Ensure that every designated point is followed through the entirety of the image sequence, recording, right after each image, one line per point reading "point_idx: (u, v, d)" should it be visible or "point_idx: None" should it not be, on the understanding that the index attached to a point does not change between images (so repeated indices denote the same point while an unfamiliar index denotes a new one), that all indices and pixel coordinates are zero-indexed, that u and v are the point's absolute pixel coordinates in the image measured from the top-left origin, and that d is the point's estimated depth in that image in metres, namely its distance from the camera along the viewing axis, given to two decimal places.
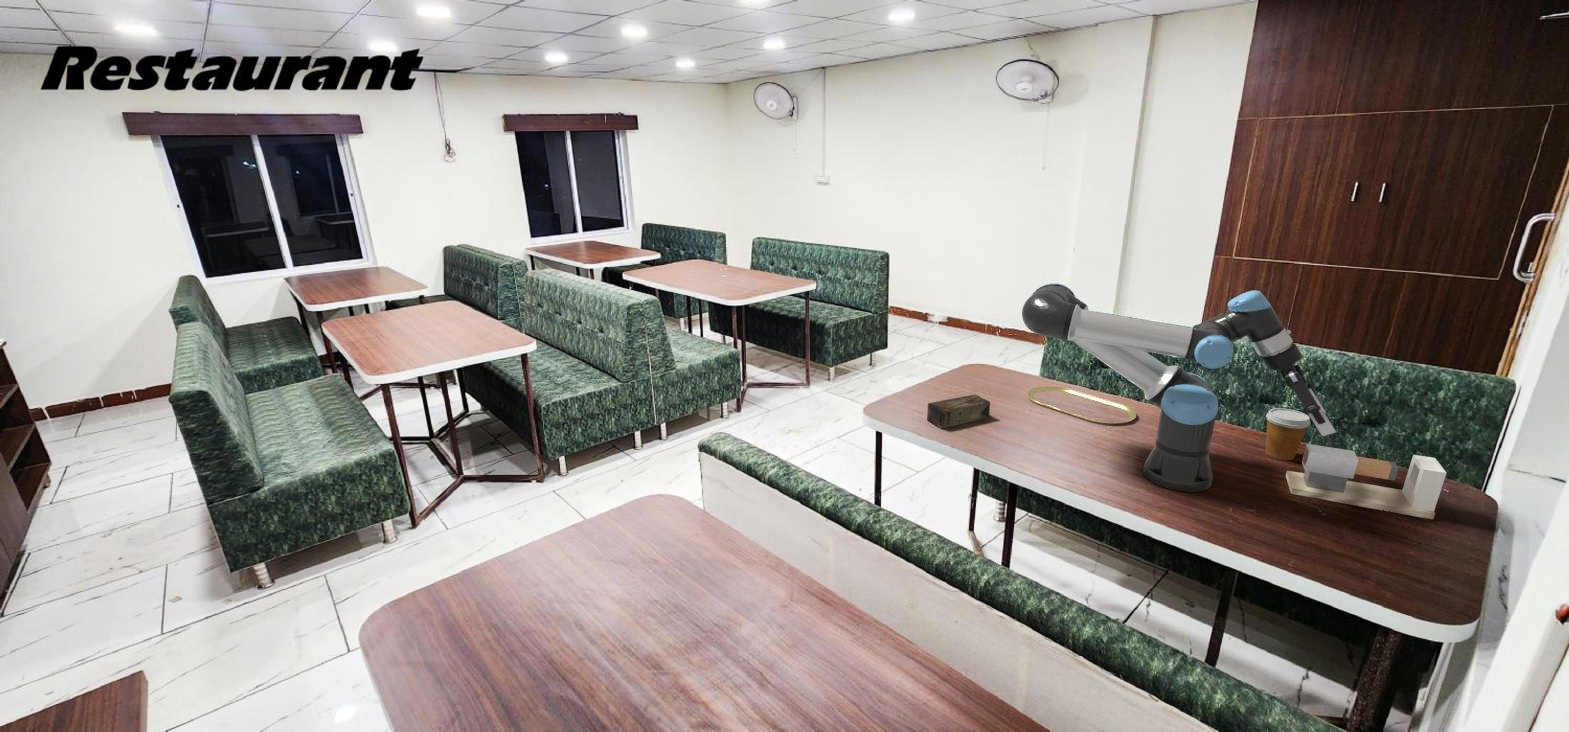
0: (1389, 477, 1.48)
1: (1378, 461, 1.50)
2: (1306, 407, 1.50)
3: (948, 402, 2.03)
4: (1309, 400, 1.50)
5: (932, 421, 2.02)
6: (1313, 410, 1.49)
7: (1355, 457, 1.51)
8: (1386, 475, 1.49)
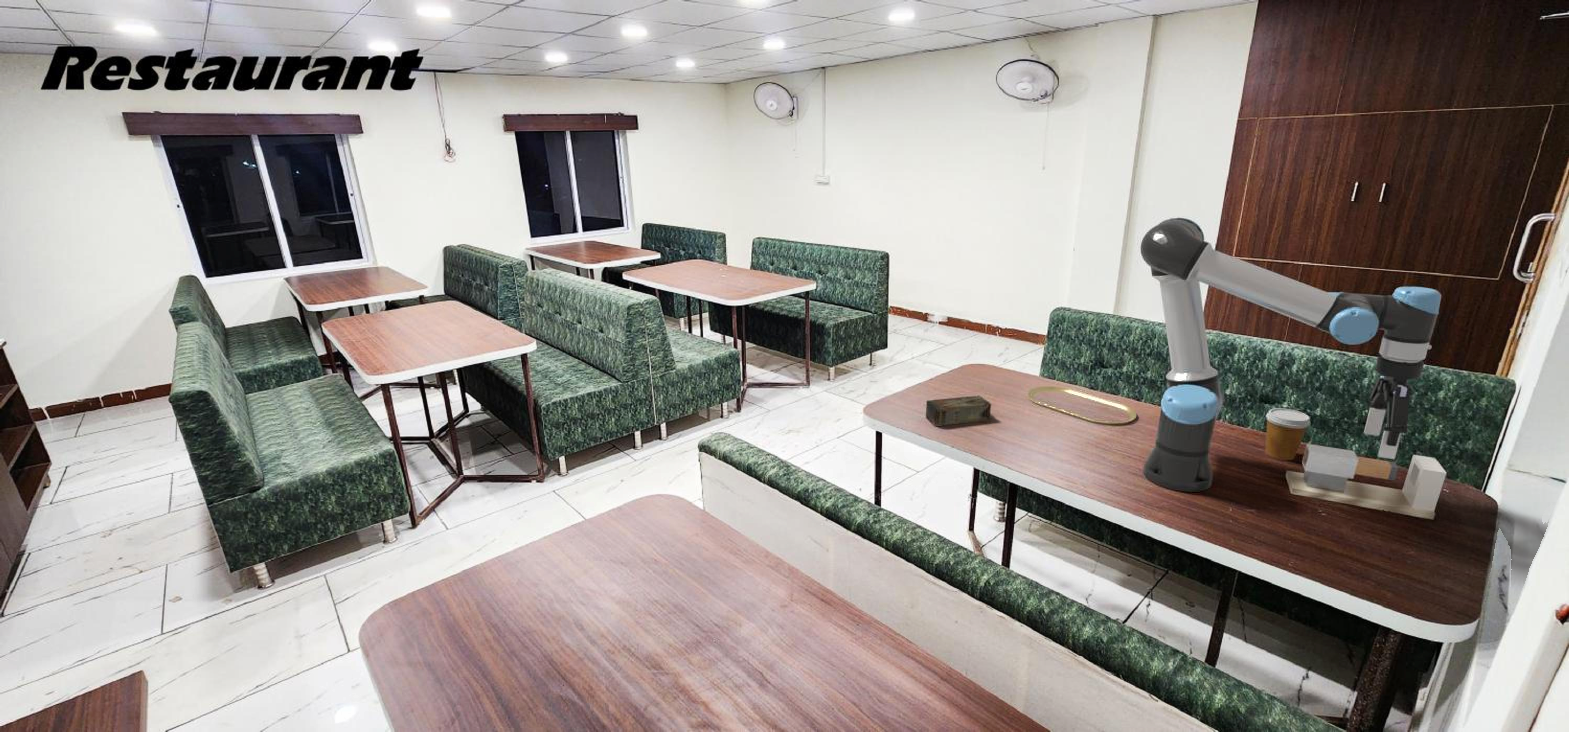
0: (1389, 477, 1.48)
1: (1378, 461, 1.50)
2: (1394, 424, 1.39)
3: (947, 401, 2.04)
4: (1402, 420, 1.38)
5: (929, 418, 2.04)
6: (1398, 430, 1.38)
7: (1355, 457, 1.51)
8: (1386, 475, 1.49)
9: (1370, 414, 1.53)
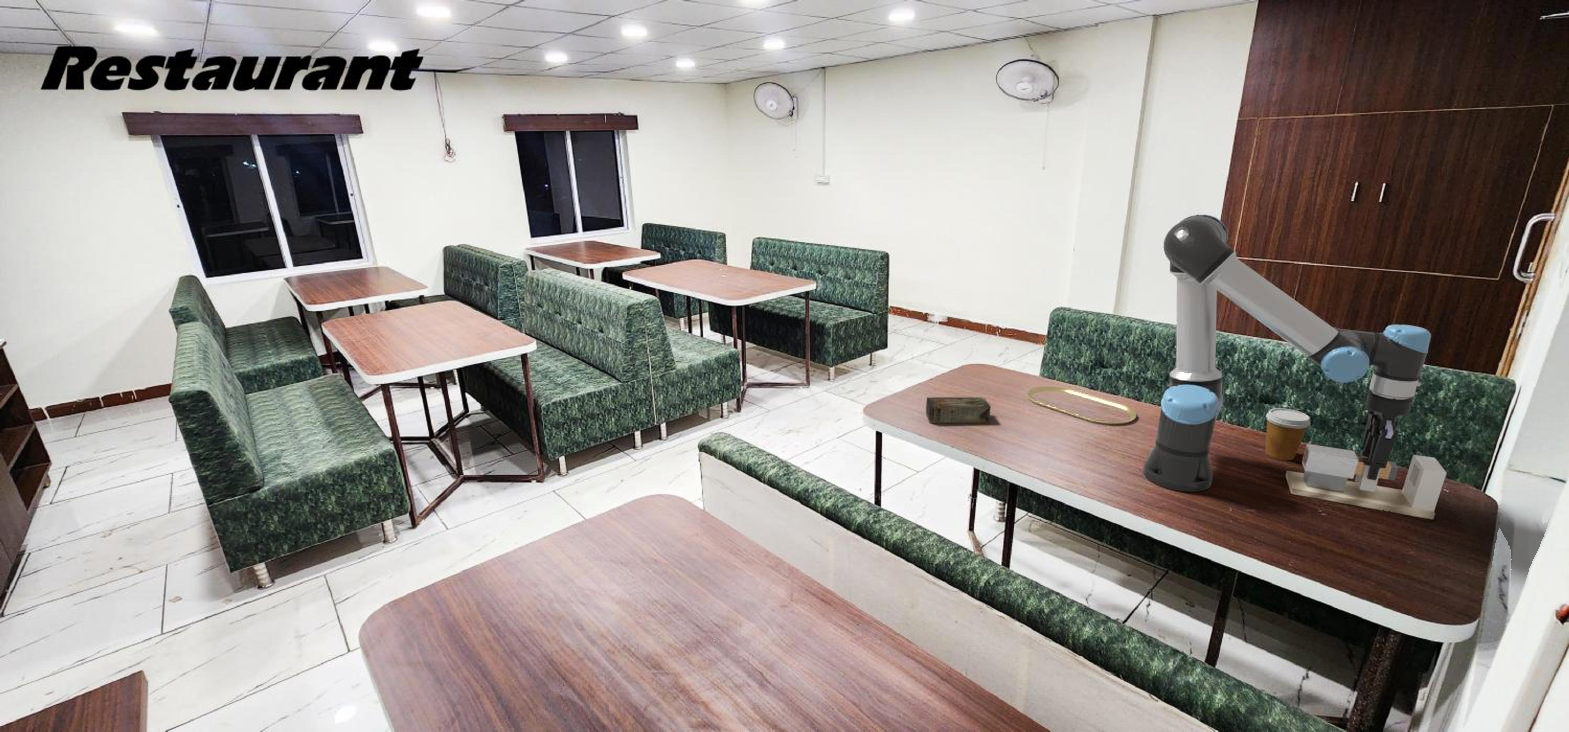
0: (1389, 477, 1.48)
1: None
2: (1374, 462, 1.46)
3: (947, 399, 2.05)
4: (1383, 458, 1.45)
5: None
6: (1378, 467, 1.46)
7: (1355, 457, 1.51)
8: (1386, 475, 1.49)
9: None
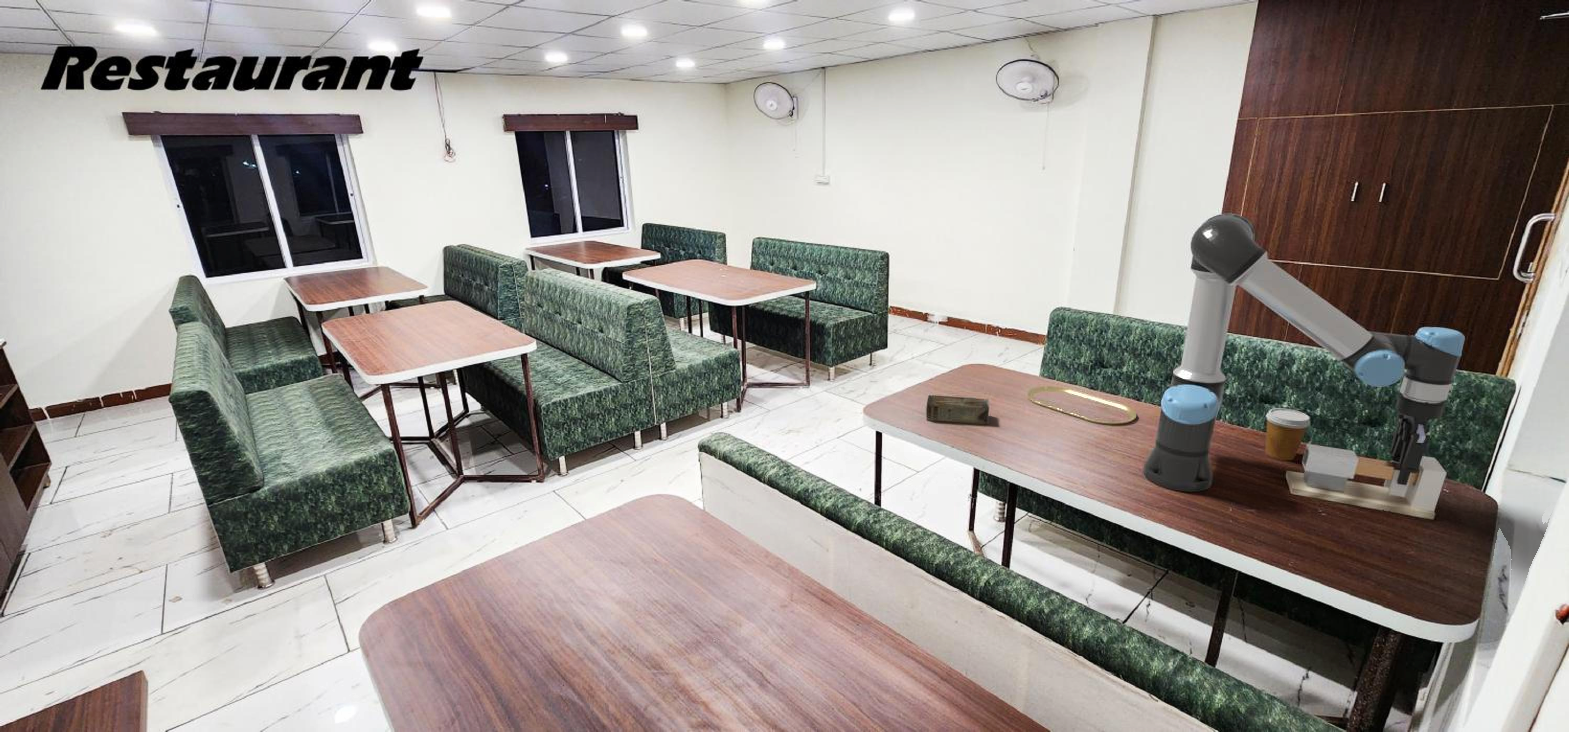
0: None
1: None
2: (1405, 467, 1.43)
3: (947, 398, 2.06)
4: (1414, 463, 1.42)
5: None
6: (1409, 471, 1.44)
7: (1355, 457, 1.51)
8: (1416, 480, 1.46)
9: None
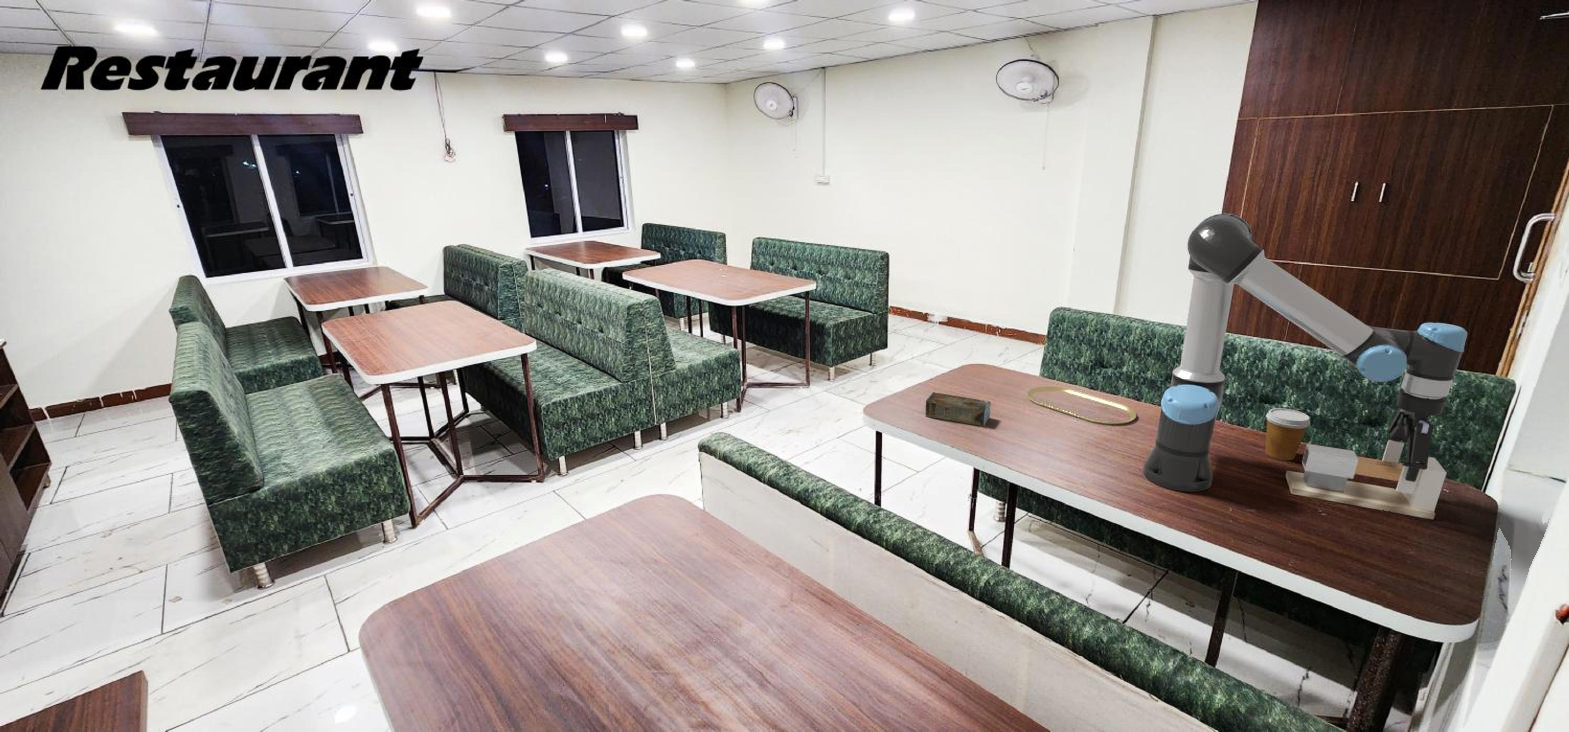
0: None
1: None
2: (1414, 461, 1.39)
3: (949, 397, 2.07)
4: (1423, 456, 1.38)
5: None
6: (1419, 467, 1.39)
7: (1355, 457, 1.51)
8: None
9: (1388, 446, 1.53)
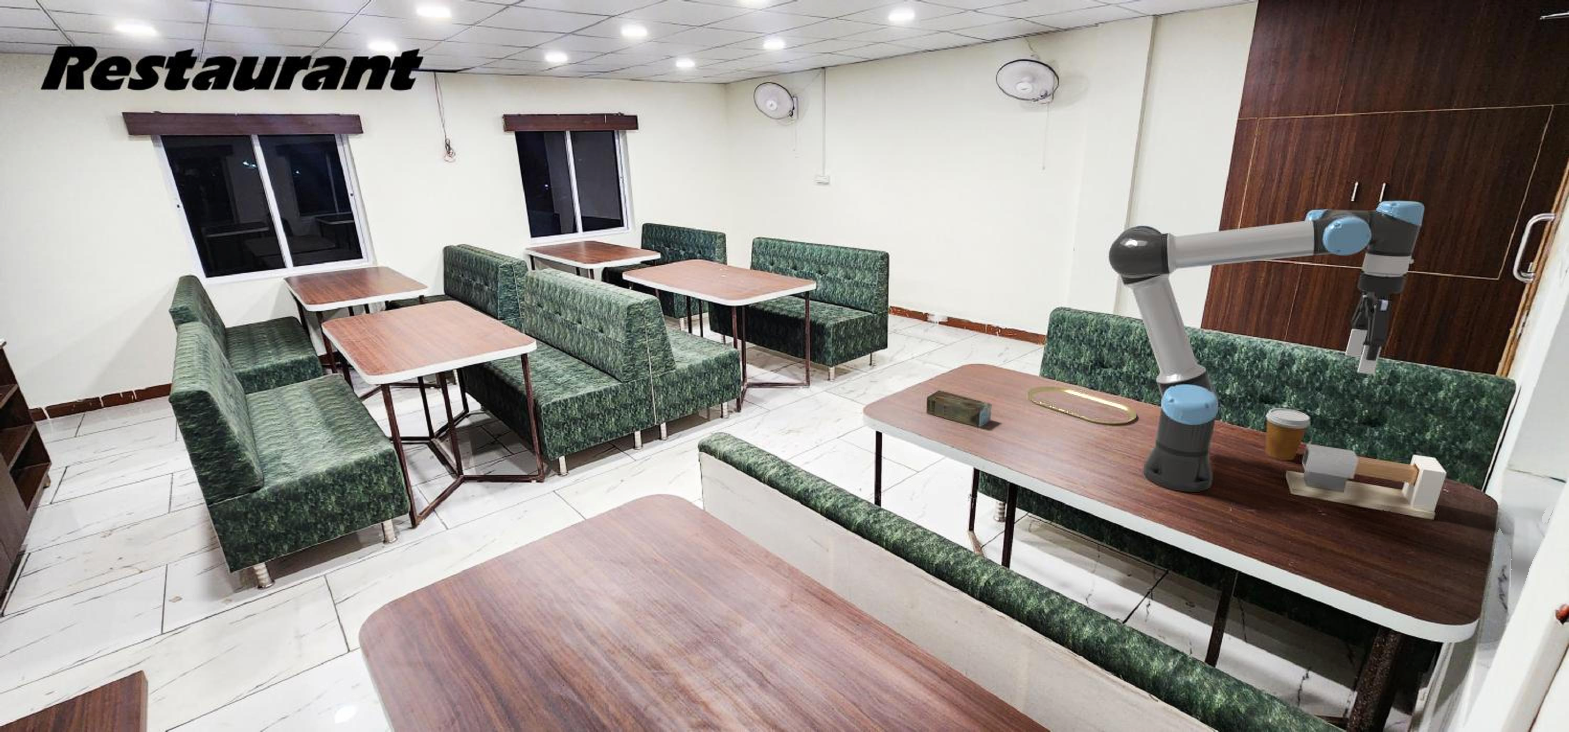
0: None
1: (1408, 466, 1.48)
2: (1374, 338, 1.39)
3: (951, 396, 2.08)
4: (1382, 333, 1.39)
5: None
6: (1378, 343, 1.39)
7: (1355, 457, 1.51)
8: None
9: (1352, 335, 1.54)
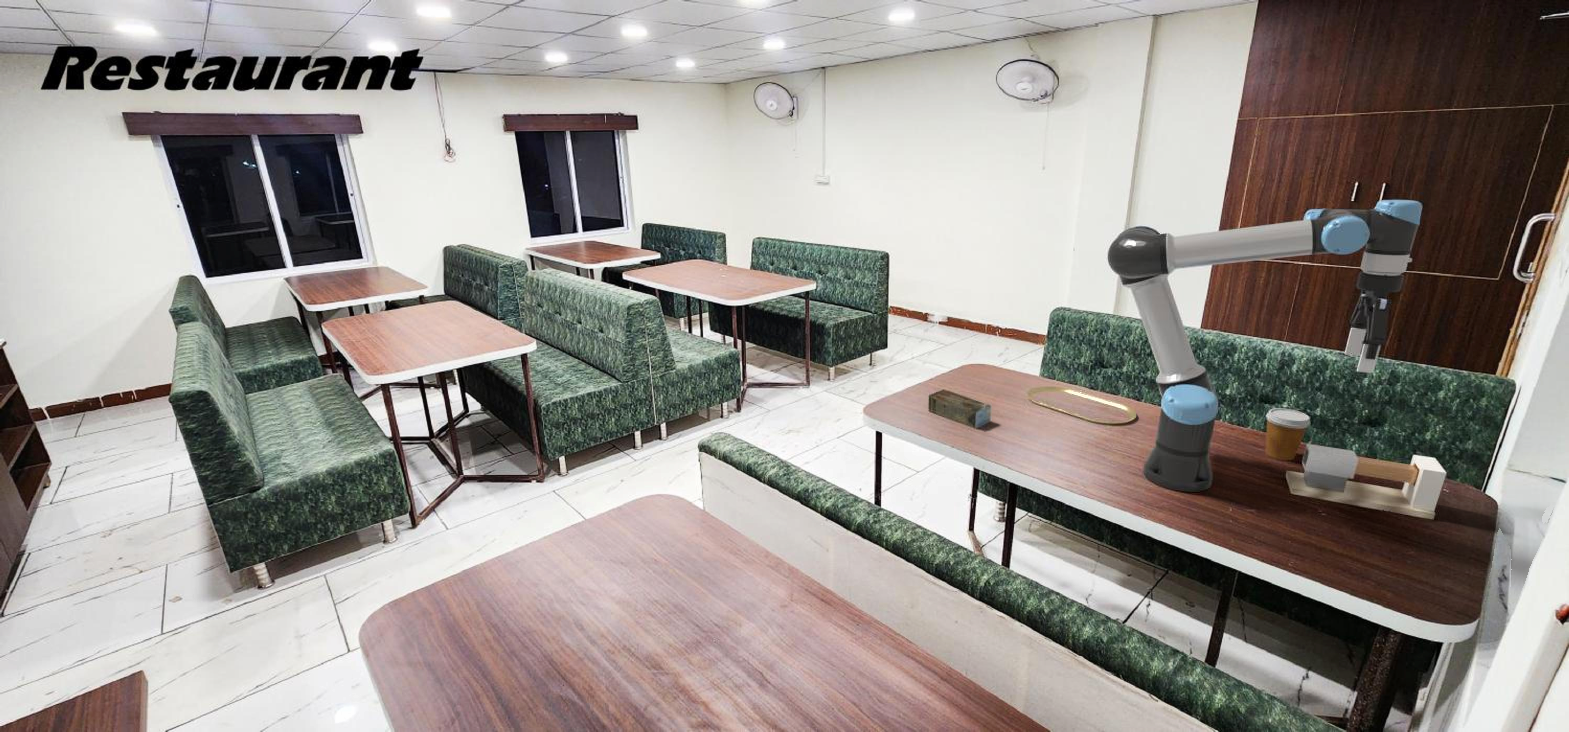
0: None
1: (1408, 466, 1.48)
2: (1373, 336, 1.39)
3: (953, 395, 2.08)
4: (1381, 331, 1.39)
5: None
6: (1377, 342, 1.39)
7: (1355, 457, 1.51)
8: None
9: (1351, 334, 1.54)
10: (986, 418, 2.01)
